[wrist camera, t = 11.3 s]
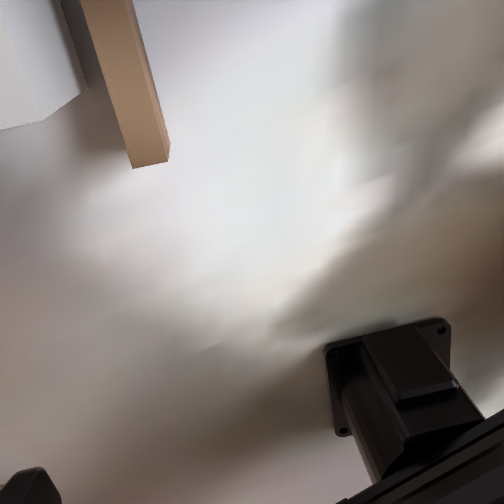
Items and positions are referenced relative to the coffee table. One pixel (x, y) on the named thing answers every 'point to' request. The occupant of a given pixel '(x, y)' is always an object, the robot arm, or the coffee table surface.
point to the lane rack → (128, 79)
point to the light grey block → (36, 62)
